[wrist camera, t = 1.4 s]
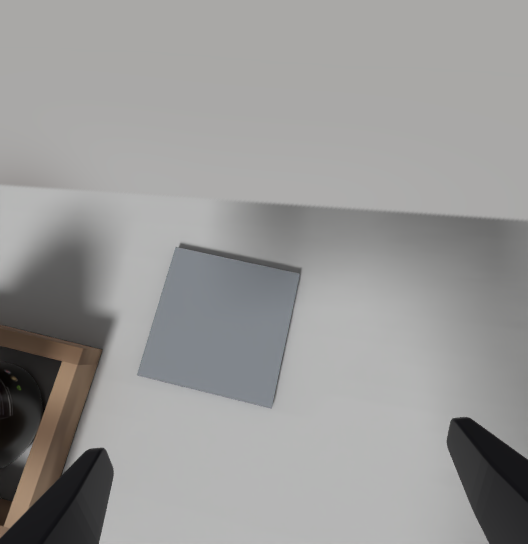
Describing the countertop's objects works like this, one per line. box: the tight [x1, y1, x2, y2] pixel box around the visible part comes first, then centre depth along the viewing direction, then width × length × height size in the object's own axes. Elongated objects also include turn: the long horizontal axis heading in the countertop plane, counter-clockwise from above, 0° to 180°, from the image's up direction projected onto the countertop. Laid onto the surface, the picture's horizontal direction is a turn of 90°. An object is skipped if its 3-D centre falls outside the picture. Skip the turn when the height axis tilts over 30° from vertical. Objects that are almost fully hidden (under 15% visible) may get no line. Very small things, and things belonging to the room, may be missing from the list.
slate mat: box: [137, 247, 300, 409], centre depth 24 cm, size 9×9×1 cm
